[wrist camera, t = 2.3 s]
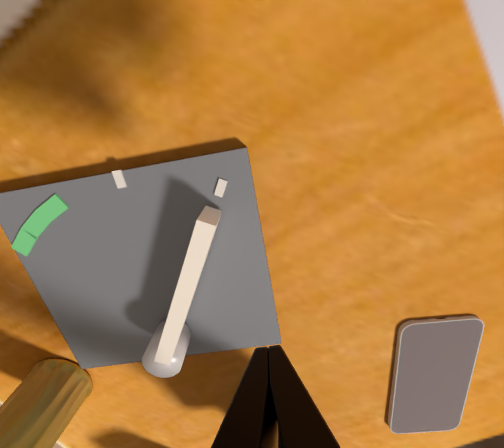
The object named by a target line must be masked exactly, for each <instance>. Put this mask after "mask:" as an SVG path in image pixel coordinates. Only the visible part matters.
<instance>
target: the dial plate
mask: <svg viewBox="0 0 504 448" xmlns="http://www.w3.org/2000/svg"><path fill="white" fill-rule="evenodd" d="M205 206H209V207H212V208H215V209H218V210H220V211H222V213H221V216H220V219H219V222H218V225H217V228H216V231H215V234H214V237H213V240H212V243H211V246H210V249H209V252H208V255H207V258H206V261H205V264H204V267H203V270H202V273H201V276H200V279H199V282H198V285H197V288H196V291H195V293H194V296H193V299H192V302H191V305H190V308H189V311H188V314H187V317H186V320H185V324H186V325H187V326H188V327H189V329H190V331H191V338H190V341H189V345H188V348H187V351H186V354H185V356H187V355H195V354H203V353H211V352H218V351H226V350H234V349H242V348H249V347H257V346H265V345H272V344H280V343H281V337H280V330H279V325H278V319H277V314H276V308H275V302H274V297H273V291H272V285H271V280H270V274H269V268H268V263H267V257H266V251H265V246H264V240H263V234H262V229H261V223H260V218H259V212H258V206H257V201H256V195H255V189H254V184H253V178H252V172H251V167H250V161H249V155H248V150H247V147H244V148H238V149H233V150H228V151H222V152H217V153H211V154H206V155H201V156H195V157H190V158H184V159H179V160H174V161H168V162H163V163H158V164H152V165H147V166H141V167H136V168H131V169H125V170H116V171H111V172H109V173H104V174H98V175H93V176H88V177H82V178H77V179H71V180H66V181H61V182H55V183H50V184H44V185H39V186H34V187H28V188H23V189H17V190H12V191H7V192H1V193H0V225H1V227H2V229H3V230H4V232H5V234H6V236H7V237H8V239H9V241H10V243H11V245H12V246H11V248H12V249H14V250H15V252H16V253H17V255H18V257H19V259H20V260H21V262H22V264H23V266H24V268H25V269H26V271H27V273H28V275H29V276H30V278H31V280H32V282H33V283H34V285H35V287H36V289H37V291H38V292H39V294H40V296H41V298H42V299H43V301H44V303H45V305H46V306H47V308H48V310H49V312H50V314H51V315H52V317H53V319H54V321H55V322H56V324H57V326H58V328H59V329H60V331H61V333H62V335H63V337H64V338H65V340H66V342H67V344H68V345H69V347H70V349H71V351H72V353H73V354H74V356H75V358H76V360H77V361H78V363H79V365H80V367H81V368H82V369H87V368H95V367H102V366H110V365H118V364H126V363H133V362H141V361H142V357H143V355H144V353H145V351H146V349H147V347H148V345H149V343H150V341H151V339H152V337H153V335H154V333H155V331H156V329H157V327H158V325H159V324H160V323H161V322H163V321H165V320H167V317H168V313H169V310H170V307H171V303H172V300H173V297H174V293H175V290H176V287H177V283H178V280H179V277H180V273H181V270H182V267H183V264H184V260H185V257H186V254H187V250H188V247H189V244H190V240H191V237H192V234H193V230H194V227H195V224H196V220H197V219H198V217H199V215H200V214H201V212H202V211H203V209H204V208H205Z"/></svg>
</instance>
